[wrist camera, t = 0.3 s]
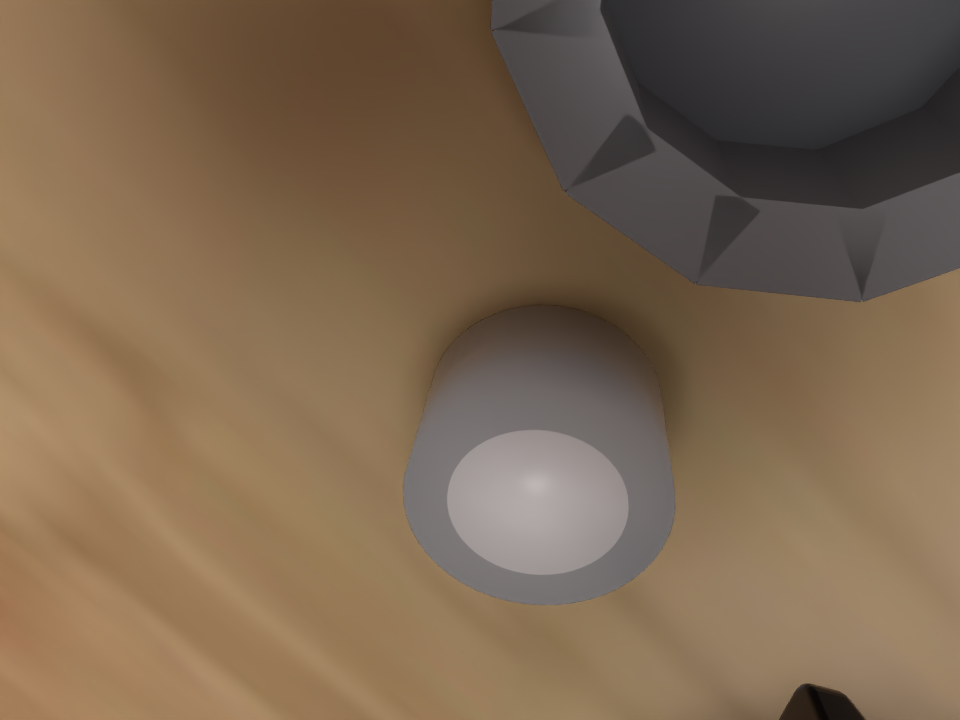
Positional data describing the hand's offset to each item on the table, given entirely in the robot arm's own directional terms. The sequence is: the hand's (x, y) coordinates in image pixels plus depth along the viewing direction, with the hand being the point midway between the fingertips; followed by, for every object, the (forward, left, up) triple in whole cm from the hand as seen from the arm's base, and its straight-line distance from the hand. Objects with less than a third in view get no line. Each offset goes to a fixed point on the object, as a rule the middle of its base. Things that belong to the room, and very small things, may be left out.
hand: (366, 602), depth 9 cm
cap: (-6, +1, -13) cm, 14 cm away
